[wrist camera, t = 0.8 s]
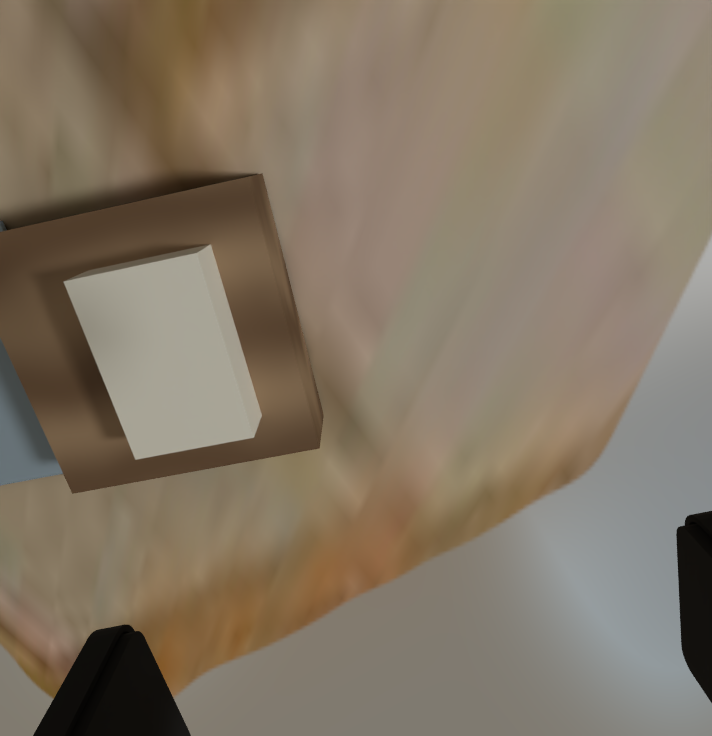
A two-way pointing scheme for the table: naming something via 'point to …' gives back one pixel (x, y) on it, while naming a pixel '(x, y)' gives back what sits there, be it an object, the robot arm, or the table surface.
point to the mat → (20, 429)
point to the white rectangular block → (168, 351)
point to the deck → (75, 359)
